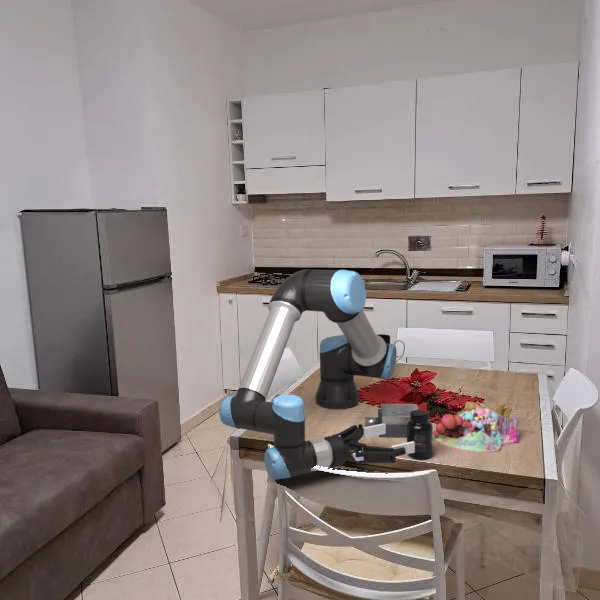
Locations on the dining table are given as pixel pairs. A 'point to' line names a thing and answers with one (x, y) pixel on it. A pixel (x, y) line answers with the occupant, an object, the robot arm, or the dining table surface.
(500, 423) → the candy landscape model
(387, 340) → the glass holder
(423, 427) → the supplement bottle
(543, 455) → the dining table surface
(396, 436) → the block
